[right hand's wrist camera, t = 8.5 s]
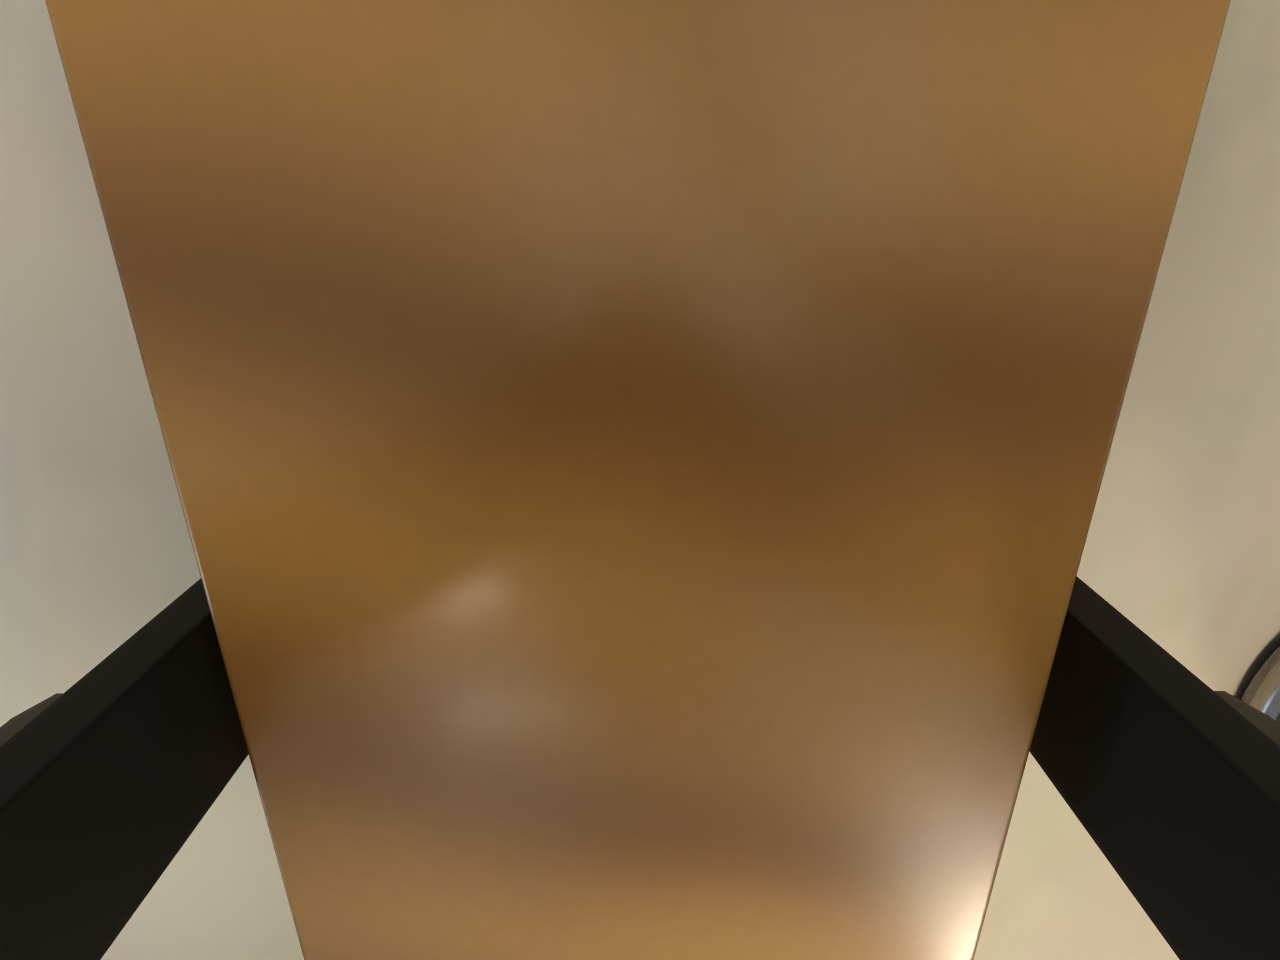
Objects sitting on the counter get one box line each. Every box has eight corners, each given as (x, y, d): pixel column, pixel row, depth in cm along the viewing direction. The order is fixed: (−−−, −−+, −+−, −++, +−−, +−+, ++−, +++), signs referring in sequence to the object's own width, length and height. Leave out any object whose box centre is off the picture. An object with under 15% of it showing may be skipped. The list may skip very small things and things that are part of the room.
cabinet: (333, -344, 12) (-440, -1761, 3) (941, -342, 12) (1710, -1746, 3) (451, 639, 19) (305, 975, 11) (825, 638, 19) (973, 973, 11)
